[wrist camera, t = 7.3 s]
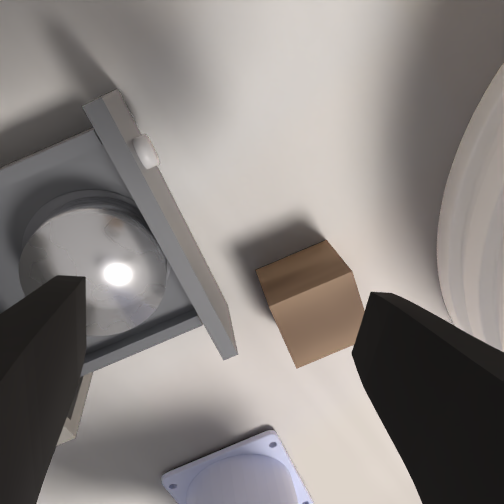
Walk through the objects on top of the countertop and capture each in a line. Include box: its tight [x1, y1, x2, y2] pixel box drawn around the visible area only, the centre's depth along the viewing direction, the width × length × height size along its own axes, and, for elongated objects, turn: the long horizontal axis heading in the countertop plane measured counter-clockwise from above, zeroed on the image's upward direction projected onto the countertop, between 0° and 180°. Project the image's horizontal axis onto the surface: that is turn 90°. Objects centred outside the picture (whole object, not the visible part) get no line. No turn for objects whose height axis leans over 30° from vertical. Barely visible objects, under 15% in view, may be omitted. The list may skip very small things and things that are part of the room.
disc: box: [19, 196, 167, 336], centre depth 17 cm, size 6×6×2 cm
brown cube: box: [256, 240, 365, 368], centre depth 21 cm, size 4×4×4 cm
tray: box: [0, 89, 238, 377], centre depth 18 cm, size 12×10×4 cm
